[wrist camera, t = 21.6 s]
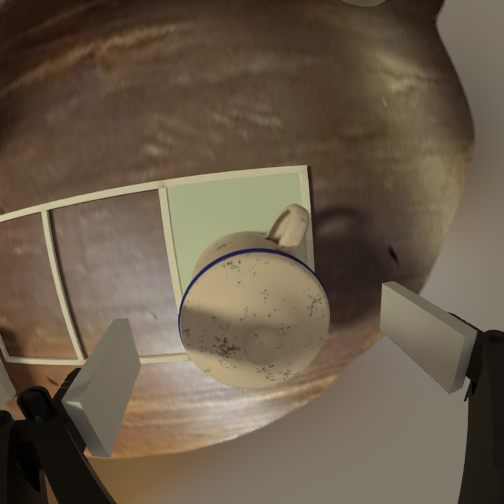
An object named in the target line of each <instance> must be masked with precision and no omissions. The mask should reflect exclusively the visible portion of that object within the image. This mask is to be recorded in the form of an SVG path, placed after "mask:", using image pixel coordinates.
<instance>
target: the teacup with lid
mask: <svg viewBox="0 0 504 504" xmlns="http://www.w3.org/2000/svg"><path fill="white" fill-rule="evenodd" d="M308 224H309V213H308V211H307V210H306V209H305V208H304V207H302V206H300V205H298V204H291V205H289V206H287V207H286V208H284V209H283V210H282V211H281V212H280V214H279V215H278V216H277V218H276V219H275V221H274V222H273V224H272V226H271V227H270V229H269V231H268V233H267V235H266V236H264V235H261V234H258V233H253V232H236V233H231V234H228V235H225V236H223V237H220V238H219V239H217V240H215V241H214V242H212V243H211V244H210V245H209V246H208V247H207V248H206V249H205V250H204V251H203V252H202V253H201V255H200V256H199V258H198V260H197V262H196V264H195V267H194V270H193V274H192V278H191V282H190V284H189V286H188V287H187V289H186V291H185V293H184V296H183V298H182V301H181V304H180V308H179V315H178V325H179V333H180V337H181V340H182V343H183V346H184V348H185V350H186V352H187V353H188V355H189V357H190V358H191V359H192V361H193V362H194V363H195V364H196V366H197V367H198V368H199V369H200V370H202V371H203V372H204V373H205V374H207V375H208V376H210V377H211V378H213V379H215V380H217V381H219V382H221V383H223V384H226V385H229V386H233V387H238V388H249V389H254V388H264V387H269V386H273V385H277V384H280V383H282V382H285V381H287V380H289V379H291V378H292V377H294V376H296V375H297V374H299V373H300V372H301V371H303V370H304V369H305V368H306V367H307V366H308V365H309V364H310V363H311V362H312V361H313V360H314V359H315V357H316V356H317V354H318V353H319V351H320V350H321V348H322V346H323V344H324V342H325V339H326V336H327V333H328V329H329V323H330V308H329V301H328V297H327V294H326V291H325V288H324V286H323V284H322V283H321V281H320V279H319V278H318V276H317V275H316V274H315V273H314V272H313V271H312V269H311V268H309V267H308V266H307V265H306V264H305V263H303V262H302V261H301V260H299V259H297V258H295V255H296V253H297V251H298V249H299V247H300V245H301V243H302V241H303V239H304V237H305V234H306V231H307V228H308Z"/></svg>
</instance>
